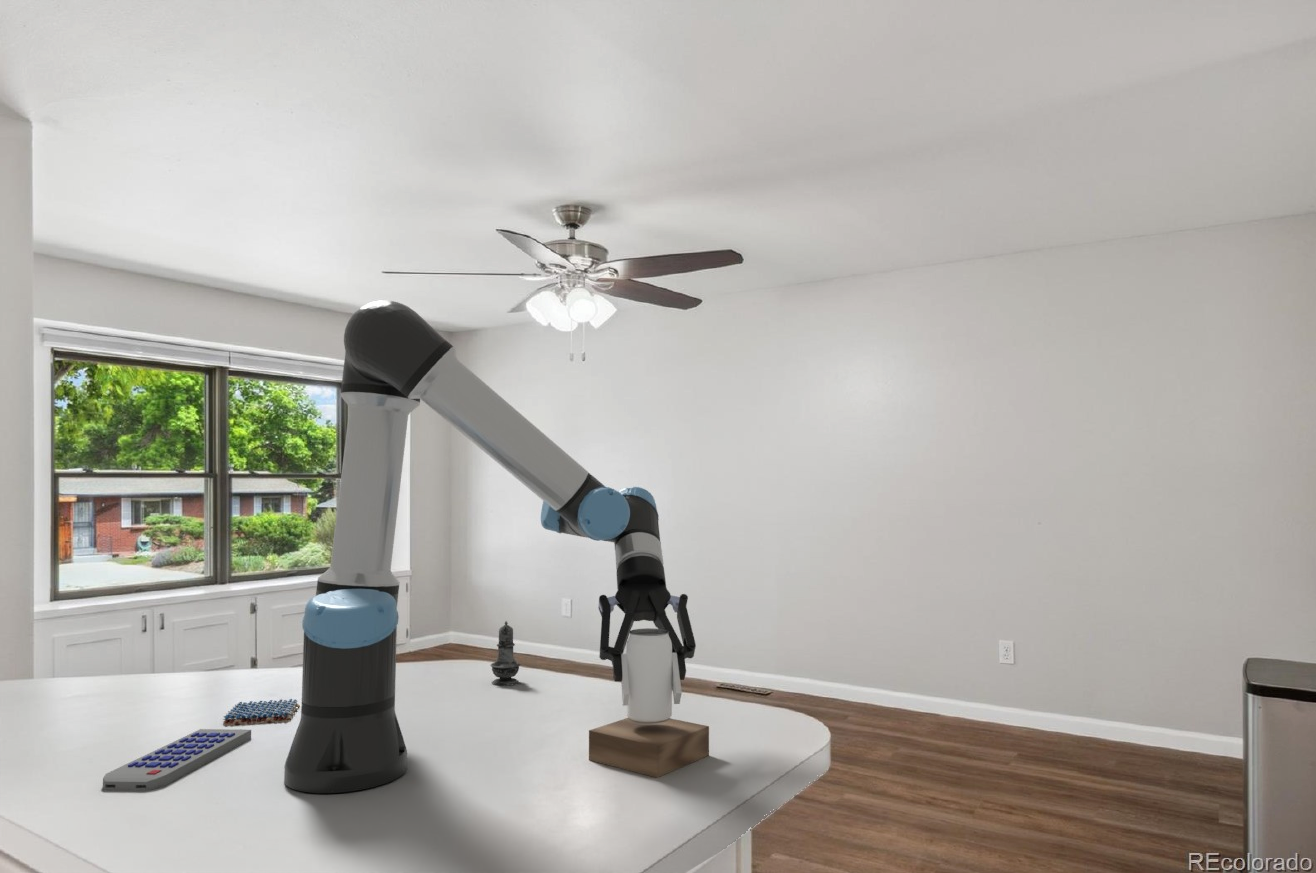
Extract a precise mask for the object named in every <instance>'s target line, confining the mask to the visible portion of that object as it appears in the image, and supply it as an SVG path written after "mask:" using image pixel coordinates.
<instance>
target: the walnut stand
mask: <svg viewBox="0 0 1316 873" xmlns="http://www.w3.org/2000/svg"><path fill="white" fill-rule="evenodd" d="M708 756H710V726H709V725H705V724H699V723H695V722H691V721H690V722H689V721H685V720H680V719H675V718H671V717H670V719H669V720H667V721H665V722H661V723H637V722H633V721H631V720H629V719H628V717H626V718H623V719H620V720H617V721H614V722H610V723H608V724H604V725H602V726H598V727H595V728H592V729H589V730H588V760H589V761H592V762H596V763H600V764H603V765H606V766H607V765H608V766H611V767H615V768H619V769H623V770H627V771H630V772H634V773H638V774H642V775H646V776H650V777H653V778H660V777H662V776H664V775H666V774H669V773H671V772H673V771H675V770H678V769H680V768H683V767H685V766H687V765H690V764H692V763H694V762H696V761H699V760H701V759H704V758H705V757H708Z"/></svg>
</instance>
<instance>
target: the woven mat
mask: <svg viewBox="0 0 1316 873" xmlns="http://www.w3.org/2000/svg"><path fill="white" fill-rule="evenodd" d="M296 707H299V708H301V705H300V704H299V703H298V699H292V698H289V700H287V699H285V700H284V699H279V701H277V700H273V699H271V700H270V699H269V701H265V700H259V701H258V702H257V701H252V700H251V701H249V702H243V701H239V702H238V703H237V704H234V706H232V708H231V709H230V710H228V711H227V713H225V715H224V716H223V719H222V720H223V721H222V723H223V724H222V725H223V726H238V725H256V724H271V723H273V724H274V723H286V722H287V723H288V722H291V721H292V720H291V719H293V718H294V716H295V713H294V712H297V711H299V708H296Z"/></svg>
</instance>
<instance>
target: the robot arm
mask: <svg viewBox="0 0 1316 873" xmlns="http://www.w3.org/2000/svg"><path fill="white" fill-rule="evenodd" d="M343 344H344V349H345V350H344V362H343V369H342V370H343V371H342V378H341V379H342V380H341V385H340V397H341V399H343V401H344V402H345V403H346V405H347V407H348V408H349V409H348V416H347V417H348V418H347V425H346V433H345V441H344V442H345V443H344V451H343V460H342V467H341V468H342V469H341V476H340V485H339V490H338V491H339V492H338V500H337V508H336V518H335V525H334V533H333V539H332V540H333V542H332V549H331V550H332V551H331V556H330V557H331V559H330V566H329V567H328V568H327V570H326V571H324V572H323V573H322V574H321V575H319V576H318V577H317V585H316V589H315V590H316V591H315V596H313V597H312V598H310V599H309V600H308V601H307V603H306V605H305V608H304V615H303V618H302V622H301V623H302V630H303V645H302V646H303V647H302V648H303V650H302V680H301V681H302V682H301V705H300V708H301V710H300V720H299V722H298V726H297V729H296V732H295V734H294V736H293V740H292V743H291V746H290V748H289V752H288V754H287V757H286V760H285V763H284V772H283V774H284V776H283V777H284V778H283V782H284V784H285V786H287V787H288V788H290V789H291V790H295V791H297V792H303V793H310V794H311V793H312V794H334V793H335V794H337V793H349V792H355V791H361V790H366V789H371V788H374V787H378V786H381V785H385V784H387V783H390V782H392V781H395V780H397V779H399V778H400V777H402V776H403V775H404V774H405V773H406V772H407V770H408V750H407V746H406V744H405V741H404V736H403V733H402V730H401V727H400V724H399V720H398V717H397V714H396V679H397V678H396V672H397V671H396V670H397V632H398V631H397V628H398V624H399V612H398V602H399V591H400V580H398V578H397V577H396V576H395V575H394V574H393V572H392V562H393V561H392V560H393V553H394V552H393V551H394V544H395V543H394V542H395V537H396V536H395V535H396V526H397V517H398V516H397V515H398V508H399V500H400V499H399V498H400V492H401V491H400V490H401V482H402V481H401V480H402V472H403V466H404V464H403V462H404V457H405V456H404V455H405V449H406V448H405V446H406V438H407V430H408V420H409V415H410V414H411V412H413V411H415V410H416V409H417V408H418V407H420V404H421V401H422V402H423V403H425V404H426V405H428V406H429V407H430V408H431V409H432V410H433V411H434V412H436V413H437V414H438V415H439V416H441V418H443V419H444V420H445V421H446V422H448V423H449V424H450V425H451V426H452V427H454V428H455V429H456V430H458V431H459V432H460V433H461V434H462V435H463V436H465V437H466V439H468V440H469V441H470V442H472V443H473V444H475V445H476V446H477V447H478V448H479V449H480V450H482V451H483V452H484V453H485V454H486V455H487V456H489V457H490V458H492V460H494V461H495V463H497V464H499V466H501V467H502V468H503V469H505V470H506V472H508V473H509V474H511V475H512V476H513V477H514V478H515V479H517V480H518V481H519V482H520V483H521V484H522V485H524V486H525V487H526V488H527V489H529V490H530V491H531V492H532V493H533V494H535V496H537V497H538V498H540V499H541V500H542V501H543V502H542V507H541V512H540V523H541V526H542V528H544V529H545V530H548V531H550V532H551V531H552V532H556V533H558V534H566V535H570V536H571V535H572V536H575V537H576V536H577V537H582V538H588V539H591V540H593V541H604V542H610V543H613V544H614V551H615V552H614V554H615V566H616V567H615V568H616V586H617V587H616V588H617V591H616V593H615V595H612V596H607V595H606V594H601V595H599V598H598V611H599V613H600V616H601V626H600V642H599V644H600V645H599V655H598V656H599V659H600V660H601V661H605V660H609V661H610V662H611V665H612V675H613V678H612V679H613V680H614V682H621V698H622V700H621V701H622V706H625V707H626V705H628V704H629V696H630V692H629V678H628V663H627V654H626V653H624V651H625V650H626V647H627V641H628V638H629V636H630V631H631V630H632V628H633V626H634V622H641V621H646V622H653V624H654V626H655V628H656V629H664V630H668V631H669V633H668V634H669V637H670V639H671V642H672V699H673V705H680V703H681V699H682V694H683V692H682V685H681V684H682V683H681V681H684V680H685V678H686V676H687V675H686V673H687V667H686V666H687V665H686V659H692V658H694V656H695V652H696V651H695V650H696V648H697V646H696V640H695V636H694V633H693V628H692V625H691V624H692V623H691V620H690V616H689V613H688V609H687V608H688V607H687V604H688V599H689V598H688V597H689V596H688V594H685V593H682V594H680V595H679V596H675V595H671V593H670V591H669V590H668V588H667V584H666V583H667V582H666V574H665V567H664V558H663V557H664V556H663V550H662V543H661V536H660V535H661V534H660V525H659V520H660V519H659V516H660V515H659V511H658V509H657V504H656V500H655V497H654V496H653V495H652V493H651V492H650V491H649V490H647V489H645V488H643V487H639V486H633V487H629V488H628V487H625V488H622V489H620V490H619V491H618V490H616V489H614V488H612V487H607V486H605V485H604V484H603V483H602V482H601V481H600V480H598V479H597V478H596V477H595V476H594V475H593V474H591V473H590V472H588V470H587V469H586V468H585V467H584V466H582V465H581V464H579V463H578V462H577V460H575V459H574V458H573V457H572V456H570V455H569V454H568V453H567V452H566V451H565V450H563V448H561V447H560V446H559V445H558V444H556V443H555V442H554V441H553V440H552V439H550V437H548V436H547V435H546V434H545V433H544V432H542V431H541V430H540V429H539V428H537V426H536V425H535V424H533V423H532V422H531V421H530V420H529V419H527V418H526V417H525V416H524V415H523V414H521V413H520V412H519V411H518V410H517V409H516V408H515V407H513V406H512V405H511V404H510V403H509V402H508V401H507V400H505V399H504V398H503V397H502V396H501V395H500V394H499V393H497V392H496V391H495V390H493V388H491V387H490V386H489V385H487V383H485V382H484V380H482V379H481V378H480V377H479V376H477V375H476V374H474V372H473V371H471V370H470V369H469V368H468V367H467V366H466V365H464V363H462V362H461V361H460V360H459V359H458V358H457V355H456V348H455V346H453V345H452V344H451V343H450V342H449V341H447V339H445V338H444V337H443V336H442V335H441V334H440V333H439V332H438V331H437V330H436V329H434V328H433V326H432V325H430V324H429V323H428V322H427V321H426V320H425V319H424V318H423V317H422V316H420V315H419V314H418V312H416V311H415V310H414V309H412V308H410V307H409V306H408V305H405V304H404V303H400V302H398V301H394V300H384V299H382V300H377V301H372V302H369V303H367V304H365V305H363V306H361V307H360V308H359V309H356V311H355V312H354V313H353V314H352V315H351V316H350V318H349V320H348V321H347V324H346V326H345V329H344V334H343ZM669 605H670V606H671V607H672V610H673V611H674V613H676V619H677V624H678V628H679V633H680V637H681V640H682V642H681V640H680V638H679V637H678V634H677V633H676V630H675V629H674V627H673V625H672V623H671V622H670V619H669V618H668V616H667V612H666V608H668V606H669ZM615 606H617V607H618V608H619V610H621V611H622V613H624V617H623V619H622V623H621V626H620V629H619V632H618V635H617V637H616V640H615V643H614V647H613V646H609V645H610V633H611V632H610V629H611V628H610V626H611V613H612V612H613V611H614V609H615Z"/></svg>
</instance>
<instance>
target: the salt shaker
mask: <svg viewBox="0 0 1316 873" xmlns="http://www.w3.org/2000/svg"><path fill="white" fill-rule="evenodd" d="M508 624H509V623H508V621H507V620H506V621H505V622H504V625H503V626H501V627H500V628H499V629H498V643H497V644H496V646H497V657H496V658H497V659H496V660H495V661H494V662H492V663H490V667H491V671H492V673H493V675H494V677H497V678H496V679H494V680H492V681H491V684H492V685H493V686H501V687H502V686H504V687H505V686H514V685H517V684H519V683H520V681H519V680H518V679H516V678H514V677H515V676H516V675H517V674H518V672H519V671H520V666H521V664H522V663H520V662H518V661H517V660H516V659H515V656H514V647H515V645H516V643H514V628H513V627H512V626H510V625H508Z"/></svg>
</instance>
